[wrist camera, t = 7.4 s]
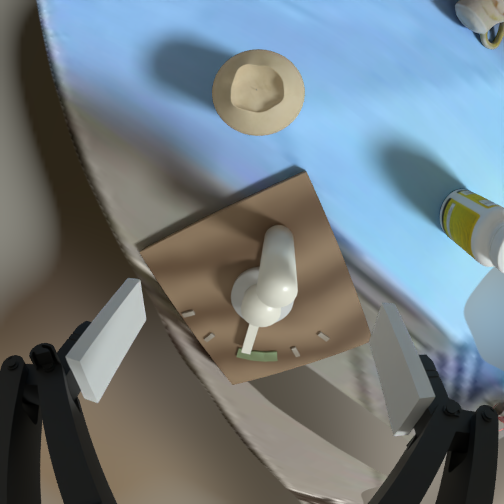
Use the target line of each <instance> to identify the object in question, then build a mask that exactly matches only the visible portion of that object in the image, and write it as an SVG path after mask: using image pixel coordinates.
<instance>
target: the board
mask: <svg viewBox="0 0 504 504" xmlns="http://www.w3.org/2000/svg"><path fill="white" fill-rule="evenodd" d="M275 225H283V226H285V227H287V228H288V229H290V230H291V232H292V234H293V239H294V250H295V262H296V275H297V288H298V292H297V296H296V298H295V300H294V303H293V307H292V309H291V311H290V312H289V313H288V315H287V316H286V317H284V318H283V319H282V320H280V321H278V322H275V323H274V324H272V325H270V326H267V327H259V328H258V331H257V334H256V338H255V341H254V344H253V347H252V350H251V353H250V354H246V353H241V351H242V346H243V343H244V340H245V336H246V333H247V329H248V326H249V323H248V322H246V321H245V320H244V319H243V318H242V317H241V316H240V315H238V313H237V312H236V311H235V309H234V308H233V305H232V302H231V292H232V288H233V285H234V282H235V280H236V279H237V277H238V276H239V275H240V274H241V273H243V272H244V271H246V270H248V269H250V268H254V267H260V262H261V256H262V249H263V243H264V237H265V233H266V231H267V230H268V229H269V228H271V227H272V226H275ZM140 254H141V256H142V257H143V259H144V260H145V262H146V264H147V265H148V267H149V268H150V270H151V271H152V273H153V275H154V276H155V278H156V279H157V281H158V282H159V284H160V285H161V287H162V288H163V290H164V291H165V293H166V294H167V296H168V297H169V299H170V300H171V302H172V303H173V305H174V306H175V308H176V309H177V311H178V312H179V313H180V315H181V316H182V318H183V319H184V321H185V322H186V323H187V325H188V326H189V328H190V329H191V330H192V332H193V333H194V335H195V336H196V337H197V339H198V340H199V342H200V343H201V344H202V346H203V347H204V348H205V350H206V351H207V352H208V354H209V355H210V356H211V358H212V359H213V360H214V362H215V363H216V364H217V366H218V367H219V368H220V369H221V371H222V372H223V373H224V375H225V376H226V377H227V378H228V380H229V381H230V382H231V383H232V385H235V384H239V383H243V382H247V381H250V380H254V379H258V378H261V377H265V376H269V375H272V374H276V373H280V372H283V371H286V370H290V369H293V368H296V367H300V366H302V365H306V364H309V363H312V362H315V361H318V360H321V359H324V358H327V357H330V356H333V355H336V354H339V353H341V352H344V351H347V350H350V349H352V348H355V347H358V346H360V345H363V344H365V343H368V342H369V340H370V337H371V333H370V330H369V327H368V324H367V321H366V318H365V316H364V313H363V310H362V307H361V304H360V301H359V299H358V296H357V293H356V290H355V288H354V285H353V282H352V280H351V277H350V274H349V272H348V269H347V266H346V264H345V261H344V259H343V256H342V254H341V251H340V249H339V246H338V244H337V241H336V239H335V236H334V234H333V231H332V229H331V227H330V224H329V222H328V219H327V217H326V215H325V212H324V210H323V208H322V205H321V203H320V201H319V199H318V196H317V194H316V192H315V190H314V187H313V185H312V183H311V181H310V178H309V176H308V174H307V172H306V171H303V172H301V173H299V174H296V175H294V176H292V177H290V178H287V179H285V180H283V181H281V182H279V183H276V184H274V185H272V186H270V187H268V188H265V189H263V190H261V191H259V192H257V193H255V194H253V195H250V196H248V197H246V198H244V199H242V200H240V201H238V202H236V203H234V204H231V205H229V206H227V207H225V208H223V209H221V210H219V211H217V212H215V213H213V214H211V215H209V216H207V217H205V218H203V219H201V220H199V221H197V222H195V223H193V224H191V225H189V226H187V227H185V228H183V229H181V230H179V231H177V232H175V233H173V234H171V235H169V236H167V237H165V238H163V239H161V240H159V241H157V242H155V243H154V244H152V245H150V246H148V247H146V248H144V249H143V250H142V251H141V252H140Z"/></svg>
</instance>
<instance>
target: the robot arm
mask: <svg viewBox="0 0 504 504" xmlns="http://www.w3.org/2000/svg"><path fill="white" fill-rule="evenodd" d="M145 321H146V315H145V309H144V302H143V296H142V289H141V282H140V280H139V279H131V278H128V279H127V280H126V281H125V282H124V283H123V285H122V286H121V287H120V288H119V290H118V291H117V292H116V293H115V294H114V296H113V297H112V298H111V299H110V300H109V302H108V303H107V304H106V305H105V307H104V308H103V309H102V310H101V311H100V313H99V314H98V315H97V316H96V318H95V319H94V320H93V321H92V322H89V321H85V322H84V323H82V324H81V325H79V326H78V327H77V328H76V329H75V331H74V332H73V334H71V336H70V337H69V339H67V341H66V342H65V343H64V344H63V346H62V347H61V348H60V349H59V351H58V352H57V353H56V350H55V348H54V346H53V345H51V344H48V343H41V344H39V345H37V346H35V347H34V348H33V349H32V350H31V352H30V355H29V356H30V358H31V361H32V363H33V364H25V362H24V360H23V358H22V357H20V356H17V355H14V356H10V357H8V358H7V359H6V360H5V361H4V362H3V364H2V366H1V370H0V504H41V492H40V449H41V431H42V420H43V425H44V430H45V436H46V440H47V445H48V449H49V454H50V458H51V462H52V465H53V469H54V473H55V476H56V480H57V483H58V487H59V489H60V493H61V496H62V499H63V502H64V504H117V503H116V500H115V498H114V496H113V494H112V492H111V489H110V487H109V485H108V482H107V480H106V478H105V475H104V473H103V470H102V468H101V465H100V463H99V460H98V457H97V455H96V452H95V449H94V446H93V443H92V441H91V438H90V435H89V432H88V428H87V425H86V422H85V419H84V415H83V412H82V408H81V405H80V401H79V399H78V397H77V396H78V394H79V393H80V391H81V392H82V394H83V396H84V398H85V399H88V400H91V401H93V402H96V403H98V402H99V400H100V398H101V397H102V395H103V393H104V391H105V390H106V388H107V386H108V384H109V382H110V380H111V379H112V377H113V375H114V374H115V372H116V370H117V368H118V366H119V365H120V363H121V361H122V359H123V358H124V356H125V354H126V353H127V351H128V349H129V348H130V346H131V344H132V342H133V341H134V339H135V337H136V336H137V334H138V332H139V331H140V329H141V327H142V326H143V324H144V322H145ZM369 344H370V347H371V351H372V354H373V358H374V361H375V365H376V368H377V372H378V375H379V379H380V383H381V387H382V390H383V394H384V398H385V402H386V406H387V410H388V414H389V418H390V423H391V427H392V431H393V435H394V436H400V435H408V434H409V433H410V432H411V430H412V429H413V428H414V429H415V432H416V434H415V436H414V437H413V438H412V439H411V441H410V442H409V443H408V444H407V449H406V450H405V452H404V453H403V455H402V456H401V458H400V459H399V461H398V463H397V464H396V466H395V467H394V469H393V470H392V472H391V473H390V474H389V476H388V477H387V479H386V480H385V482H384V483H383V484H382V486H381V487H380V488H379V490H378V491H377V492H376V494H375V495H374V496H373V498H372V499H371V500H370V502H369V503H368V504H420V502H421V501H422V499H423V497H424V495H425V494H426V492H427V490H428V488H429V486H430V485H431V483H432V481H433V479H434V477H435V475H436V473H437V472H438V469H439V467H440V465H441V464H442V461H443V459H444V457H445V455H446V453H447V456H446V461H445V466H444V471H443V476H442V480H441V485H440V489H439V493H438V496H437V500H436V503H435V504H492V503H493V496H494V489H495V481H496V470H497V458H498V414H497V412H496V411H495V410H494V409H493V408H492V407H490V406H488V405H482V406H480V407H479V408H478V409H477V410H476V412H473V411H466V410H462V409H461V407H460V405H459V404H458V403H457V402H455V401H454V400H450V399H449V398H448V395H447V393H446V390H445V388H444V386H443V383H442V381H441V379H440V377H439V374H438V372H437V371H436V368H435V365H434V363H433V361H432V360H431V359H430V358H429V357H428V356H427V355H418V353H417V351H416V348H415V346H414V344H413V342H412V339H411V337H410V335H409V333H408V331H407V329H406V326H405V324H404V322H403V320H402V318H401V316H400V314H399V312H398V310H397V308H396V306H395V304H394V303H382V304H381V307H380V310H379V313H378V316H377V319H376V322H375V325H374V328H373V331H372V334H371V337H370V340H369Z"/></svg>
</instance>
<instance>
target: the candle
mask: <svg viewBox="0 0 504 504" xmlns="http://www.w3.org/2000/svg"><path fill="white" fill-rule="evenodd" d="M304 96H305V88H304V83H303V79H302V77H301V75H300V73H299V71H298V70H297V68H296V67H295V66H294V64H293V63H292V62H290V61H289V60H288V59H287V58H285V57H284V56H282V55H280V54H278V53H275V52H272V51H268V50H260V49H258V50H249V51H245V52H241V53H239V54H237V55H235V56H233V57H232V58H230V59H229V60H228V61H226V62H225V63H224V64H223V65H222V67H221V68H220V69H219V71H218V73H217V74H216V77H215V79H214V82H213V87H212V98H213V103H214V106H215V109H216V111H217V113H218V114H219V116H220V117H221V119H222V120H223V121H224V122H225V123H226V124H227V125H228V126H230V127H231V128H233V129H234V130H237V131H239V132H241V133H244V134H248V135H255V136H262V135H269V134H273V133H276V132H278V131H280V130H282V129H284V128H285V127H287V126H288V125H289V124H291V123H292V122H293V121H294V119H295V118H296V117H297V116H298V114H299V112H300V111H301V108H302V106H303V102H304Z"/></svg>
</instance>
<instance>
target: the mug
mask: <svg viewBox="0 0 504 504" xmlns="http://www.w3.org/2000/svg"><path fill="white" fill-rule="evenodd" d="M455 11H456V15H457V17H458V19H459V20H460V21H461V23H462V24H463V25H464V26H465V27H467V28H468V29H470V30H472V31H473V32H476V33H480V38H481V42H482V44H483V46H484V47H486V48H488V49H495V48H497V47H498V46H499V44H500V42H501V40H502V38H503V36H504V0H459V1H458V2H457V3H456V4H455ZM497 23H500V25H499V29H498V32H497V35H496V37H495V39H494V41H493V42H492V43H490V42H489V41H488V38H487V32H488V30H490V28H492V27H493V26H494V25H495V24H497Z"/></svg>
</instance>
